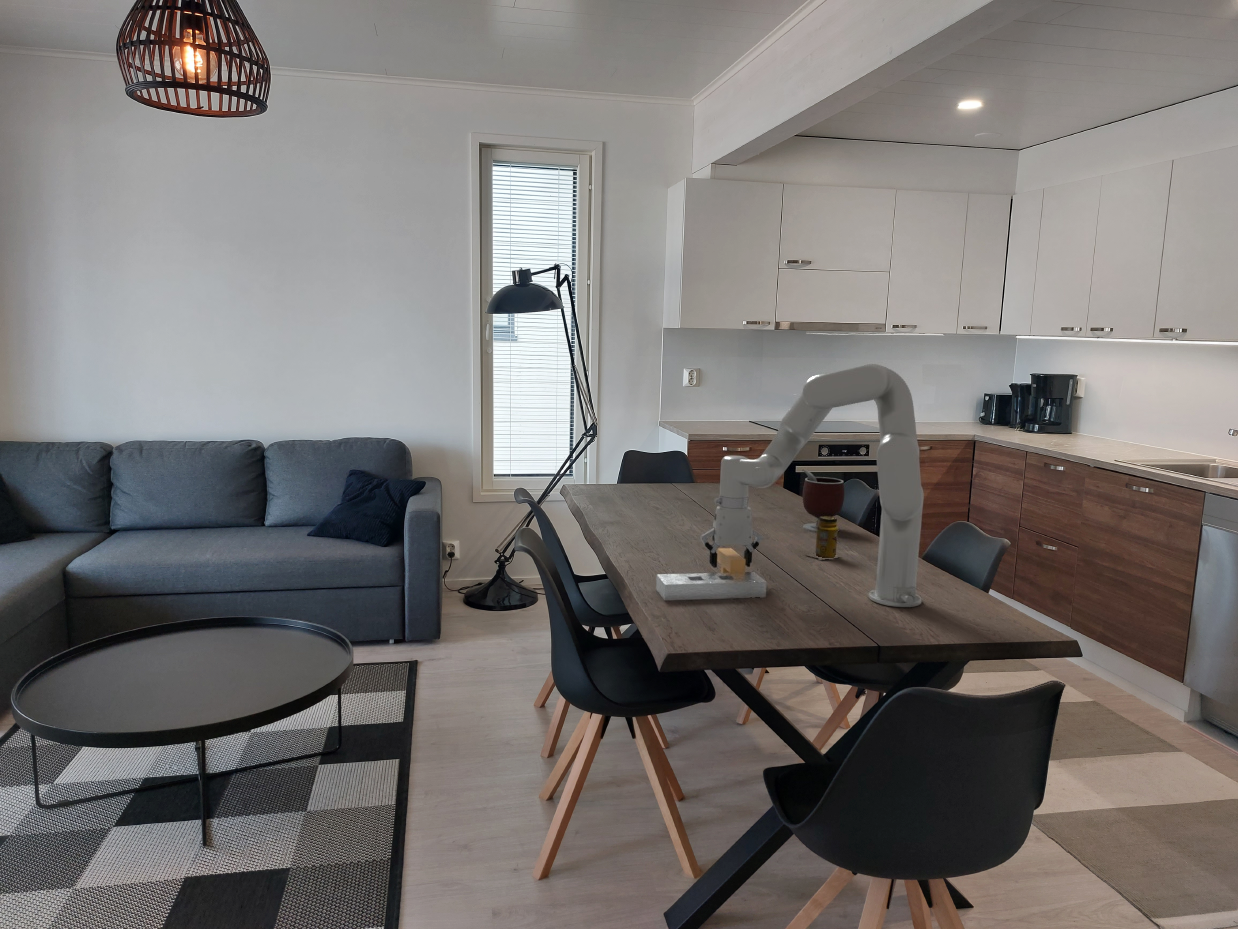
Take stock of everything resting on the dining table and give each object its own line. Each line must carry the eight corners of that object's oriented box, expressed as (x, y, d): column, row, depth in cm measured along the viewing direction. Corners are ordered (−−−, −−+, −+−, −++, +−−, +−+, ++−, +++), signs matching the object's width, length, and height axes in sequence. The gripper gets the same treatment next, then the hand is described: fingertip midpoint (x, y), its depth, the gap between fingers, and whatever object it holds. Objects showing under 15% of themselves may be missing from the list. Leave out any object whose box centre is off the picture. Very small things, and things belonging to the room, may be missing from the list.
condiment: (842, 558, 254) (844, 518, 253) (822, 561, 250) (824, 521, 248) (823, 552, 260) (826, 514, 259) (804, 555, 256) (806, 516, 254)
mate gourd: (849, 529, 294) (853, 472, 291) (829, 535, 284) (833, 476, 281) (809, 522, 304) (812, 466, 301) (788, 527, 294) (792, 470, 291)
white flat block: (765, 597, 213) (766, 581, 212) (664, 600, 208) (665, 584, 207) (753, 586, 221) (754, 572, 221) (656, 589, 217) (656, 574, 216)
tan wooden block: (729, 573, 234) (731, 548, 233) (744, 585, 223) (745, 559, 222) (716, 573, 233) (717, 548, 232) (729, 585, 222) (730, 559, 221)
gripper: (705, 505, 220) (703, 570, 222) (769, 505, 223) (766, 569, 225) (697, 500, 227) (695, 563, 229) (759, 499, 230) (756, 561, 233)
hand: (730, 565), depth 227 cm, fingers open, 8 cm apart
